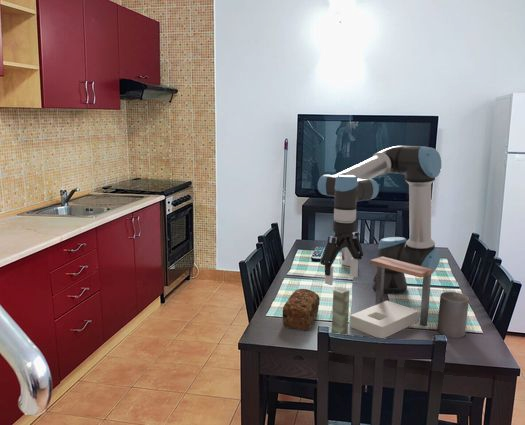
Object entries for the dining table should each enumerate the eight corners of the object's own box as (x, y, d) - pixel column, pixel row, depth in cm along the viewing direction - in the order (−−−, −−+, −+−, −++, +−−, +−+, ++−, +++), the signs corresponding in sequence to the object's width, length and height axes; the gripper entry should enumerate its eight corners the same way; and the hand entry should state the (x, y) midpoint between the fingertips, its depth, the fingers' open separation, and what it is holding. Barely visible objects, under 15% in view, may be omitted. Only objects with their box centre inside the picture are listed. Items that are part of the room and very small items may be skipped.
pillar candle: (432, 327, 189) (436, 288, 186) (458, 326, 190) (462, 288, 187) (443, 338, 180) (447, 298, 176) (470, 338, 180) (474, 298, 177)
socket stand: (379, 307, 207) (382, 256, 203) (428, 324, 191) (433, 269, 187) (341, 323, 191) (343, 268, 187) (391, 343, 175) (395, 283, 171)
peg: (338, 329, 186) (340, 287, 183) (347, 333, 183) (349, 290, 180) (331, 332, 183) (333, 289, 180) (340, 336, 180) (342, 293, 177)
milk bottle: (358, 263, 267) (360, 226, 263) (353, 267, 260) (355, 229, 257) (345, 261, 271) (346, 224, 267) (339, 265, 264) (340, 227, 261)
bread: (294, 309, 205) (294, 285, 203) (320, 313, 201) (321, 289, 199) (280, 327, 187) (281, 302, 185) (309, 332, 184) (310, 305, 182)
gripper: (358, 214, 186) (355, 271, 190) (311, 223, 170) (309, 284, 174) (375, 218, 181) (371, 275, 185) (328, 227, 164) (325, 290, 168)
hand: (341, 280), depth 179 cm, fingers open, 13 cm apart
